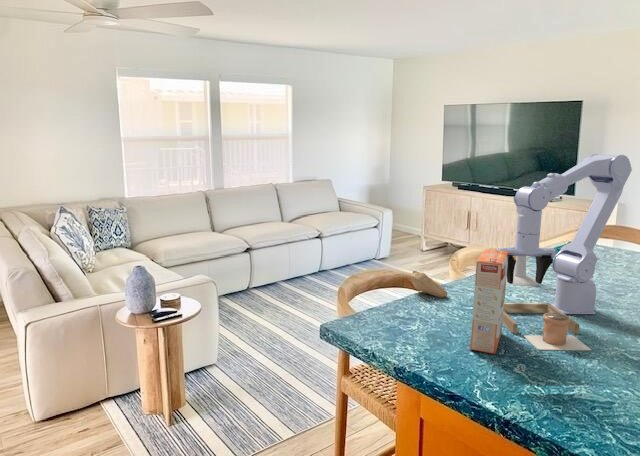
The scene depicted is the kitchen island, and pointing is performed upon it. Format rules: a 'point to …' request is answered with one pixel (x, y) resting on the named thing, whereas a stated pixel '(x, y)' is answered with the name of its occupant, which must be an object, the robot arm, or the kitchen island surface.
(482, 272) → the cracker box
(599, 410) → the kitchen island surface
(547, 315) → the terracotta pot
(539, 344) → the potting tile
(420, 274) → the pottery oil lamp
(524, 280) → the candlestick
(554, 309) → the wooden u-shaped frame
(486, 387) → the kitchen island surface
